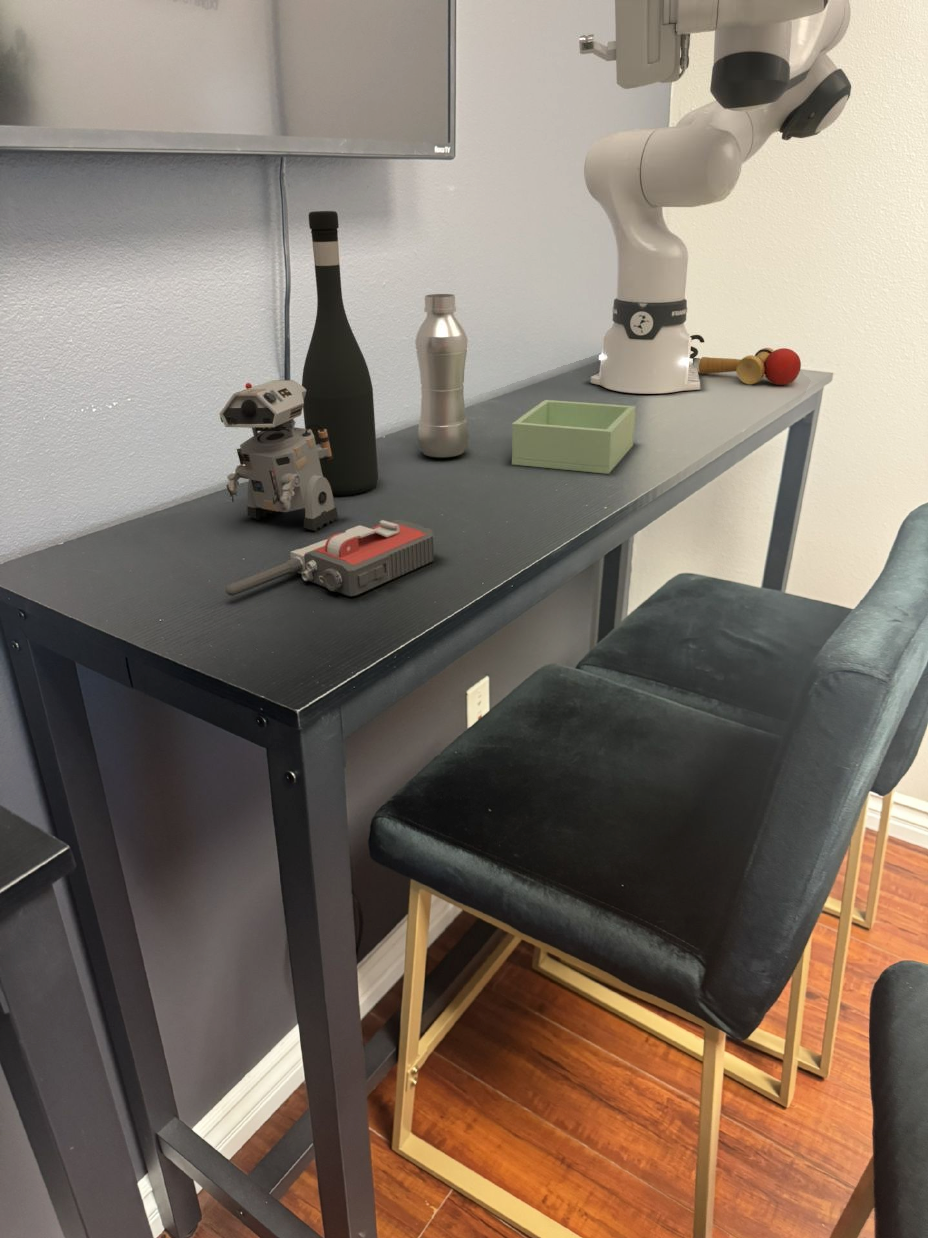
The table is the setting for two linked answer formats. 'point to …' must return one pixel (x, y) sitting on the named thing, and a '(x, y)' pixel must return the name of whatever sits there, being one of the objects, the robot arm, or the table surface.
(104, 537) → the table surface
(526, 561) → the table surface
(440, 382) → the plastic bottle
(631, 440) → the bin
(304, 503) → the figurine
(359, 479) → the wine bottle
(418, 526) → the walkie-talkie
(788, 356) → the kendama
